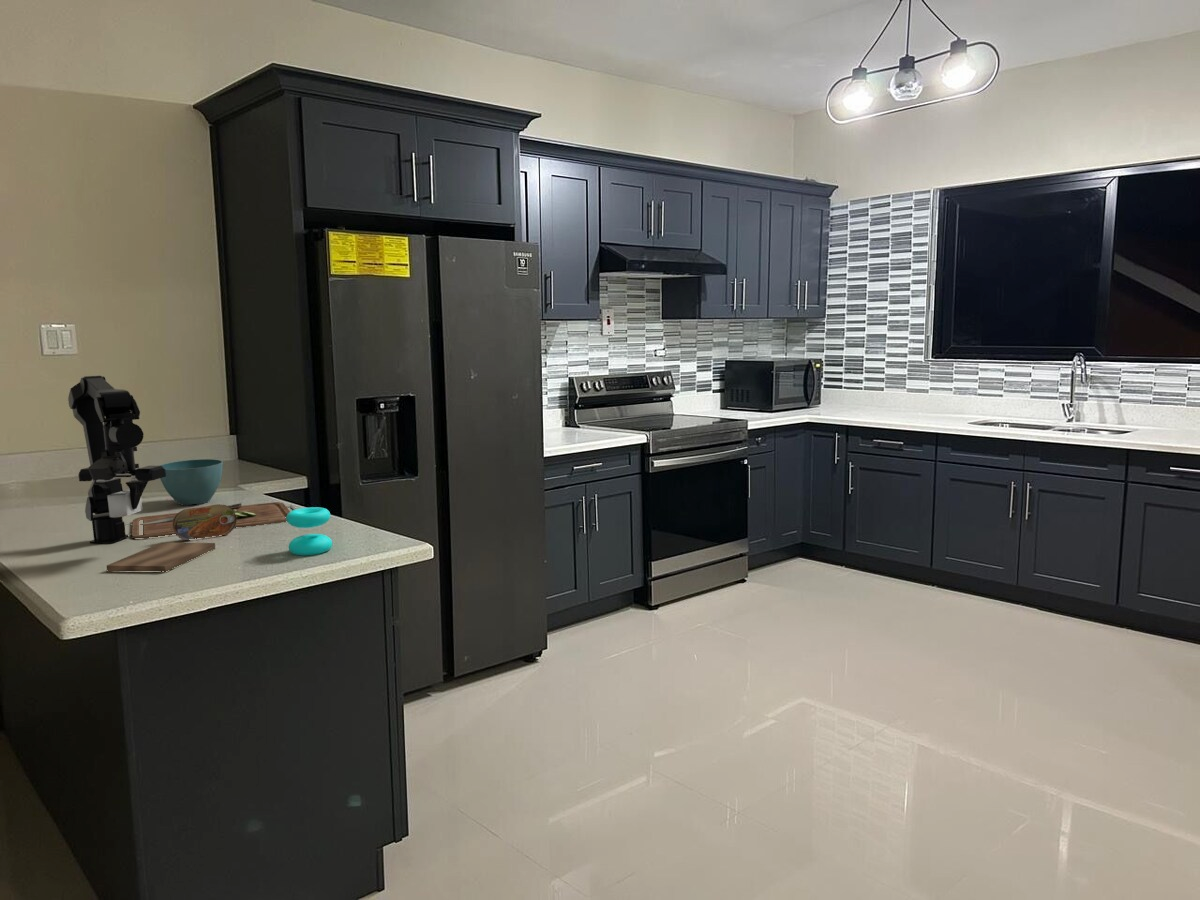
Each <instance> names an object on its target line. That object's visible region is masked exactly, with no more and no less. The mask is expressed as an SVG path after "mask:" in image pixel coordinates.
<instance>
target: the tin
mask: <svg viewBox="0 0 1200 900" xmlns="http://www.w3.org/2000/svg"><path fill="white" fill-rule="evenodd" d="M177 513H178V514H177V515H176V516H175V518H174V520H173V530H174V532H175V533H176V536H177V537H178V538H179V539H180V540H183V541H185V540H189V539H195V538H196V539H197V538H205V537H212V536H219V535H225V536H227V535H228V534H230V533H232V532H233V530H234V529H235V528H234V527H235V525H236V521H237V520H236V514H235V512H234V511H233V510H232V509H231V508H230V507H229V505H227V504H226V505H225V504H221V503H219V504H218V503H217V504H216V503H215V504H211V505H210V504H209V505H205V506H198V507H197V506H196V507H195V506H194V507H191V508H190V507H189V508H185V509H182V510H180V511H178V512H177Z"/></svg>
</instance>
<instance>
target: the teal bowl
mask: <svg viewBox="0 0 1200 900" xmlns="http://www.w3.org/2000/svg"><path fill="white" fill-rule="evenodd" d="M223 465H224V463H223V460H221V459H213V458H203V459H200V458H197V459H186V460H179V461H178V460H177V461H173V462H166V463H164V464H160V465H159V466H163V468H164V469H165V472H166V477H163V478H159V479H160V482H161V484H162V485H163V487H164V489H165V491H166V492H167V493H168V495H169V496H170V498H172V499H173V500H174V501H175V502H176V503H177V504H178V505H180V504H183V505H182V506H192V505H191V504H198V505H202V503H203V504H206V502H207V503H208V501H209V502H210V500H211V499H212V497H214V495H215V493H216V492H217V490H218V488H219V486H220V483H221V480H222V476H223V467H224V466H223Z"/></svg>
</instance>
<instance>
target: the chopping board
mask: <svg viewBox="0 0 1200 900" xmlns="http://www.w3.org/2000/svg"><path fill="white" fill-rule="evenodd" d="M228 506H229V507H230V508H231V509H232V510H233V511H234V512H235V514H236V520H237V521H236V525H235V527H234V529H237V528H236V527H242V528H247V527H246V526H251V527H257V526H256V525H259V526H265V525H264V524H267V525H272V524H271V523H275V524H280V523H279V522H284V523H287V522H286V521H287V520H286V518H285V517H287V514H288V513H289V512H291V510H290V509H292V511H293V510H296V509H297V508H295V506H294V505H293V504H290V505H288V506H286V504H285V503H284V502H280V501H276V502H275V501H273V502H266V503H264V502H263V503H255V504H247V505H242V503H235V504H230V505H228ZM289 508H290V509H289ZM178 513H179V512H174V513H165V514H155V515H145V516H141V517H136V518H133V519H132V525H131V526H132V529H131V533H128V534H126V533H125V534H126V535H131V534H132V536H131V537H133V538H149V537H158V536H165V535H172V534H176V533H175V532H174V530H173V520H174V518H175V516H176V515H177V514H178ZM140 520H143V524H140V525H143V535H139V521H140ZM130 524H131V523H129V524H128V523H125V522H124V525H125V526H126V525H130ZM126 527H127V526H126ZM133 538H132V539H133Z"/></svg>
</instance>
